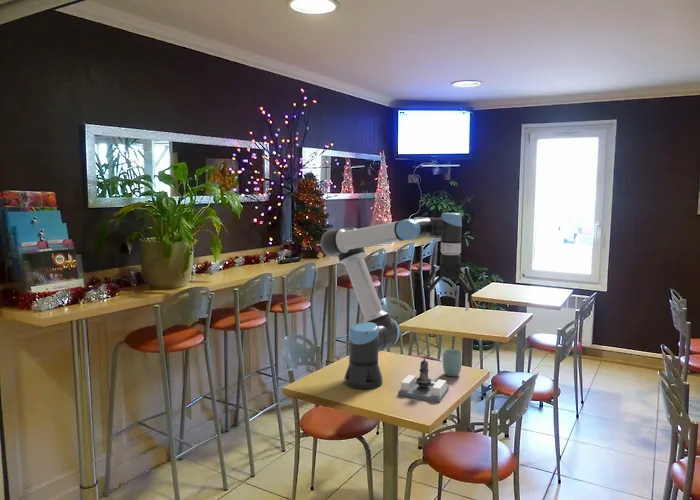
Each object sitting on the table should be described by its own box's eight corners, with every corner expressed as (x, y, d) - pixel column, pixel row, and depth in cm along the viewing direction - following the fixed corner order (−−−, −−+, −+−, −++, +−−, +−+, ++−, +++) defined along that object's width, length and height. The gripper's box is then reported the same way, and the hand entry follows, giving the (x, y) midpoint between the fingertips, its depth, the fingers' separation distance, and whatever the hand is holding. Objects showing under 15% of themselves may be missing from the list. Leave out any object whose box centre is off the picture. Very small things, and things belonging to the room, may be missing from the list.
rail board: (398, 395, 198) (398, 383, 198) (409, 383, 210) (409, 372, 209) (439, 402, 192) (440, 390, 191) (448, 390, 203) (448, 379, 203)
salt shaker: (434, 388, 201) (435, 358, 200) (426, 393, 196) (426, 362, 195) (421, 384, 205) (422, 355, 203) (412, 389, 200) (413, 358, 199)
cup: (461, 378, 216) (462, 355, 215) (442, 377, 217) (442, 353, 216) (461, 372, 223) (461, 349, 222) (442, 371, 225) (443, 348, 224)
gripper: (415, 253, 201) (414, 307, 203) (482, 256, 190) (480, 314, 193) (421, 251, 208) (420, 303, 210) (485, 254, 197) (484, 310, 200)
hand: (449, 308), depth 201 cm, fingers open, 13 cm apart
